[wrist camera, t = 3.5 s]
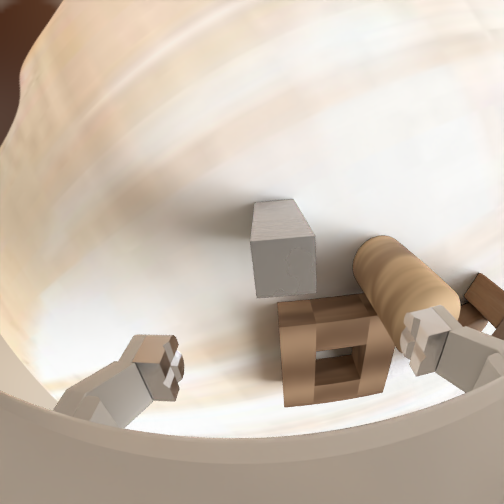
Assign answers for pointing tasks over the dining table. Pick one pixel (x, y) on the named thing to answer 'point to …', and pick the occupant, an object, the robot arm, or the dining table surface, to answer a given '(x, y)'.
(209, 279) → the dining table surface
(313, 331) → the socket block
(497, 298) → the wooden block
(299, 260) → the brushed metal bar
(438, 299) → the oak dowel
